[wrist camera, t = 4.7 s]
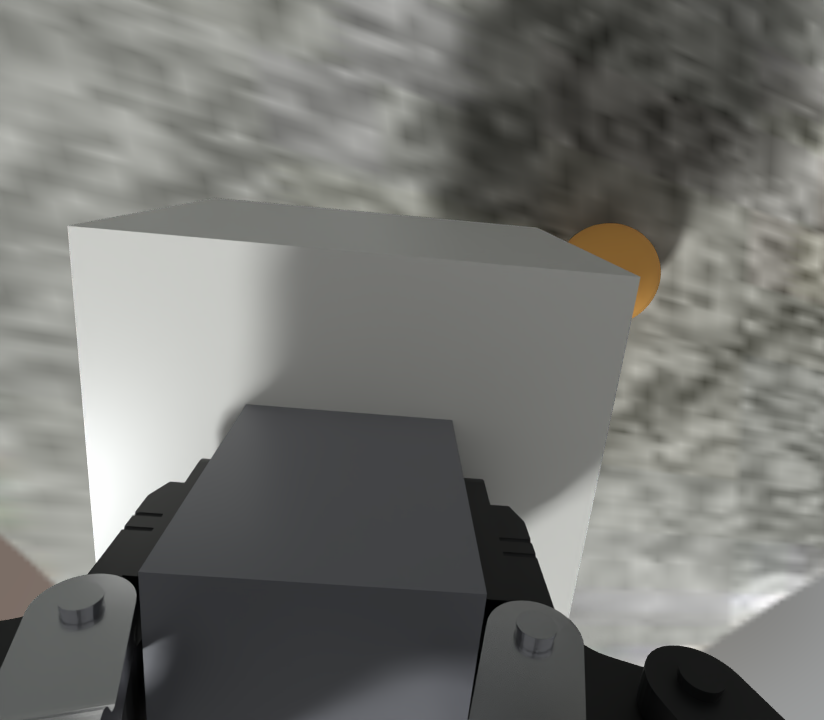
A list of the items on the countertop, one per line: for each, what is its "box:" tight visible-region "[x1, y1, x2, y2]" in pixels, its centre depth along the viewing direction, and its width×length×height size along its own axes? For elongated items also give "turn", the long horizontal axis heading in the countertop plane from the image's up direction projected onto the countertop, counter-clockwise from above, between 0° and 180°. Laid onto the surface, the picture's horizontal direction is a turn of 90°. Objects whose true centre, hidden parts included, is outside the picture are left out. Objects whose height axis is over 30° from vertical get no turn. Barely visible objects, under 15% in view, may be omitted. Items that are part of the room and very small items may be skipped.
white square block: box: [68, 198, 640, 720], centre depth 14 cm, size 10×10×14 cm
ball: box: [568, 223, 661, 318], centre depth 30 cm, size 5×5×5 cm
